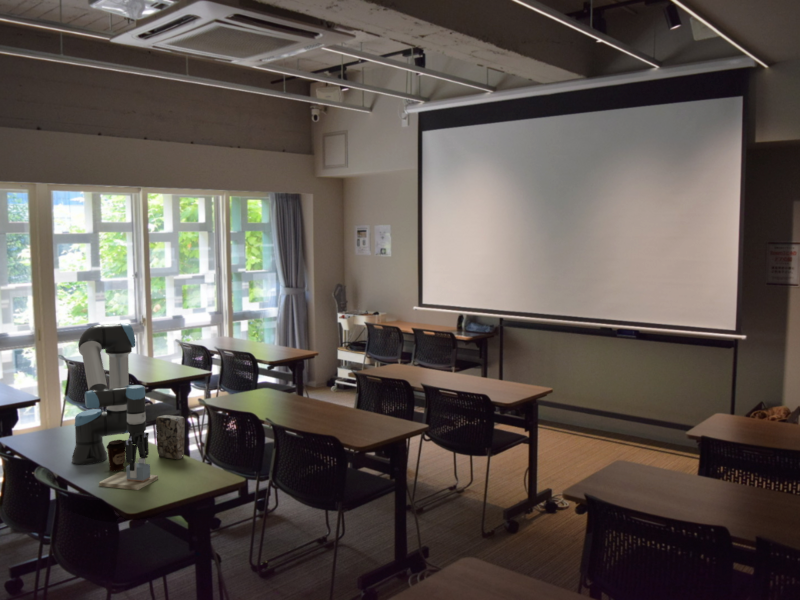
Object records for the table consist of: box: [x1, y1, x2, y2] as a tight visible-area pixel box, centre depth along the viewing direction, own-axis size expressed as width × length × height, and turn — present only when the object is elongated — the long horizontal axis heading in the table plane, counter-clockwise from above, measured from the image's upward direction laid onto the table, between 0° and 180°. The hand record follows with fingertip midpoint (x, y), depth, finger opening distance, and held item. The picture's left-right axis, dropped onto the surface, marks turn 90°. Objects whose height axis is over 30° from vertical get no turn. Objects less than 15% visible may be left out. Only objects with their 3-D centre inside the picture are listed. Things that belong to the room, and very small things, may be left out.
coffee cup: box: [105, 439, 126, 472], centre depth 304 cm, size 9×8×13 cm
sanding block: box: [125, 462, 151, 482], centre depth 287 cm, size 8×5×6 cm, turn 76°
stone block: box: [155, 414, 186, 460], centre depth 322 cm, size 13×7×20 cm, turn 74°
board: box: [98, 471, 159, 491], centre depth 288 cm, size 19×14×2 cm
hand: (137, 475), depth 287 cm, fingers open, 5 cm apart
